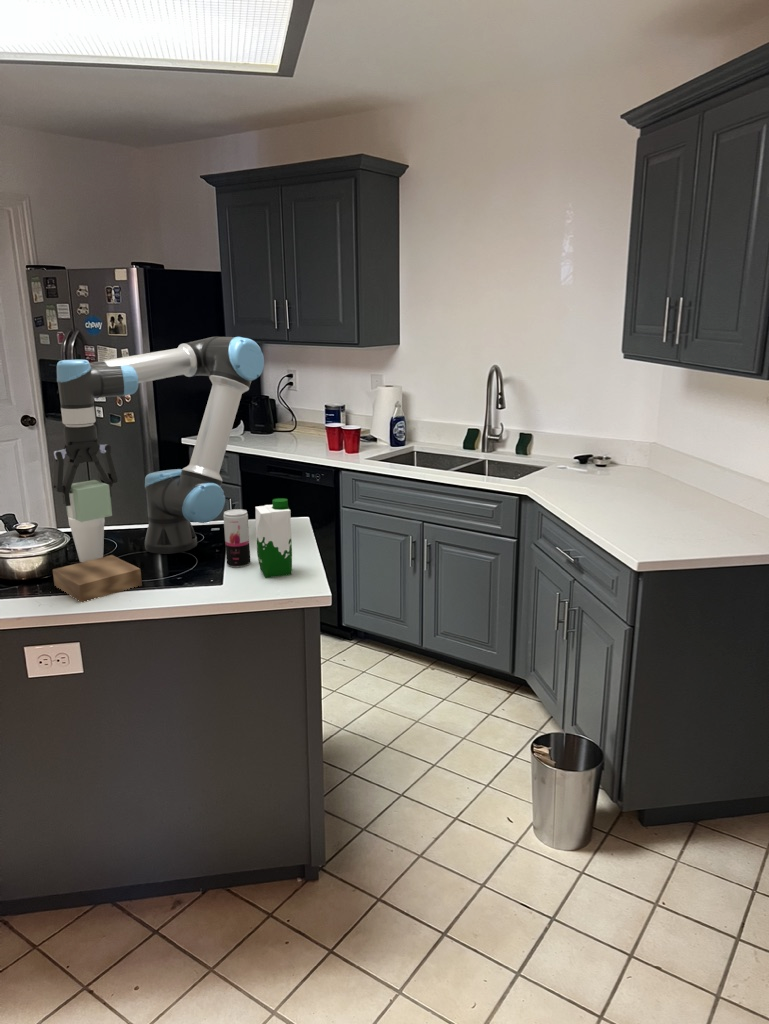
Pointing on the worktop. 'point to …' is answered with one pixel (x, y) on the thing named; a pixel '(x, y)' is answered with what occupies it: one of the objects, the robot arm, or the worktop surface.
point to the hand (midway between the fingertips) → (89, 514)
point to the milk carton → (274, 538)
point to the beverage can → (237, 538)
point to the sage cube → (91, 500)
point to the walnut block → (97, 578)
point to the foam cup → (88, 538)
